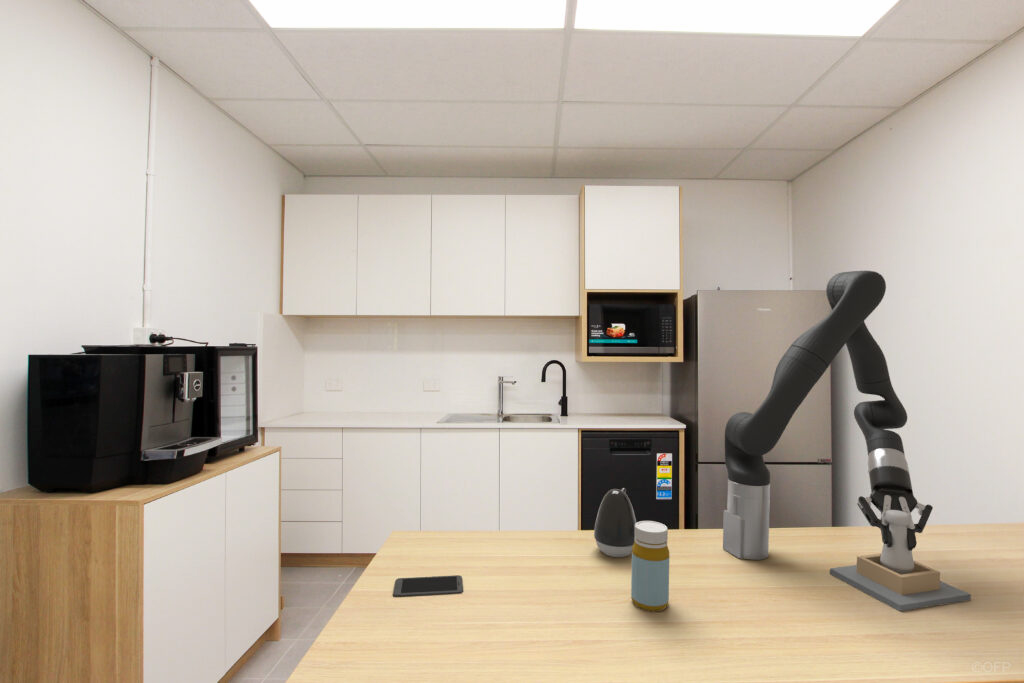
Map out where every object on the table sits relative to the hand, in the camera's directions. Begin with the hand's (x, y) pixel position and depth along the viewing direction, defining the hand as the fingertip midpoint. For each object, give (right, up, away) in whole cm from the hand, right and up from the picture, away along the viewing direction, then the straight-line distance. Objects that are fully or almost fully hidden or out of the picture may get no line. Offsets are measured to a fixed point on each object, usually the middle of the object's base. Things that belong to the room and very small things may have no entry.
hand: (900, 547), depth 109 cm
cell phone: (-97, -8, -1) cm, 97 cm away
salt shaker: (+1, -7, +2) cm, 7 cm away
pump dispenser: (-55, -8, +17) cm, 58 cm away
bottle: (-53, -9, -6) cm, 54 cm away
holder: (+1, -9, +2) cm, 9 cm away
